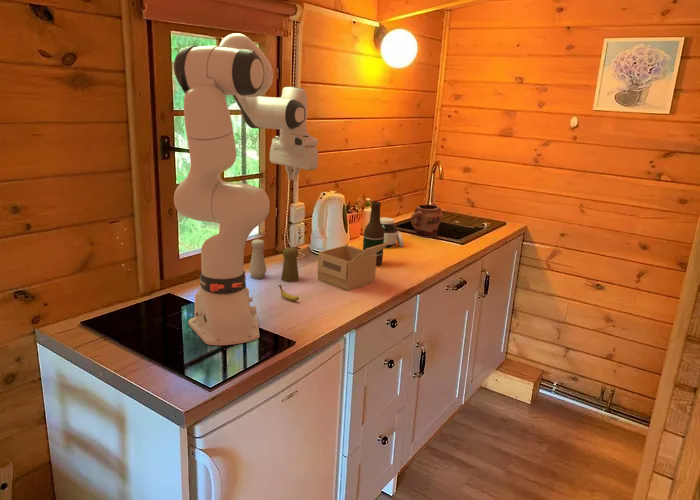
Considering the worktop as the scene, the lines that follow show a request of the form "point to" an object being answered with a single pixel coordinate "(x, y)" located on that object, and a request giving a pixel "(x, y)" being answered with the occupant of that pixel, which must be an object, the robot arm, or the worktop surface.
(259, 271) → the salt shaker
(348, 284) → the carton
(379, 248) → the flap
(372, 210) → the beer bottle
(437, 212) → the decorative planter
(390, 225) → the spread jar
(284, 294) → the banana
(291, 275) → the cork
